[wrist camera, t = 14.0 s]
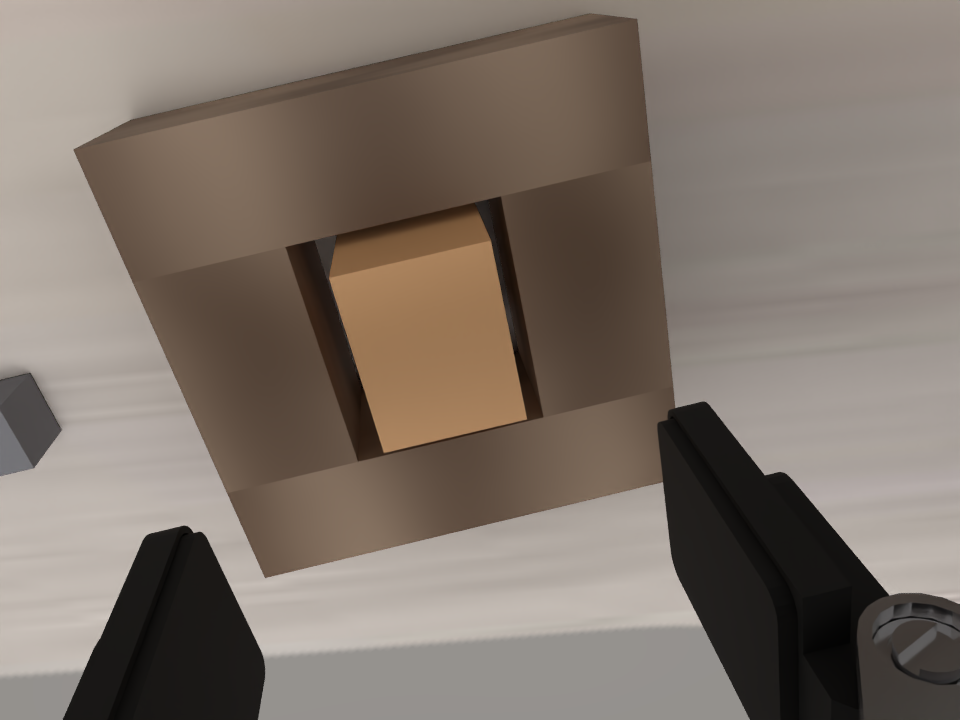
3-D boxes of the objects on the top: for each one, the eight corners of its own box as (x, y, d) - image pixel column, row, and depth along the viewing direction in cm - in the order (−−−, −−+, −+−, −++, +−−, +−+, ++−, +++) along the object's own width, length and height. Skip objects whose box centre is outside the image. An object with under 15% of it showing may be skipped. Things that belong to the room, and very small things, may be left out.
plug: (462, 175, 21) (490, 240, 15) (493, 318, 23) (527, 419, 17) (342, 203, 21) (328, 277, 15) (383, 343, 23) (383, 453, 17)
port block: (590, 13, 19) (637, 19, 16) (638, 407, 25) (681, 477, 21) (130, 119, 19) (73, 149, 16) (281, 492, 25) (265, 577, 21)
